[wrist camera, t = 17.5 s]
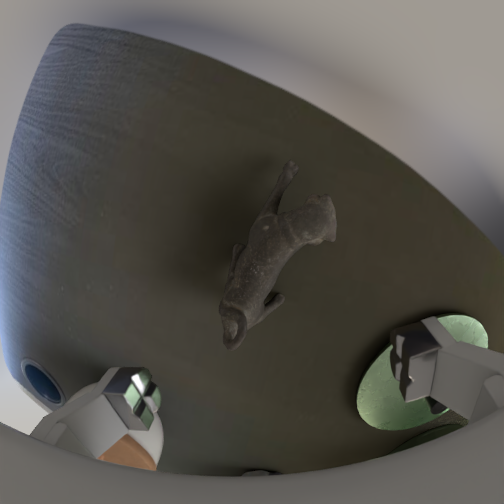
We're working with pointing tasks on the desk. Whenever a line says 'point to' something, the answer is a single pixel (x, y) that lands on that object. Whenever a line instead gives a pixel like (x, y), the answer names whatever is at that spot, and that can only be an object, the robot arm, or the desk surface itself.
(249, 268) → the dog figurine
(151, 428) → the lidded bowl
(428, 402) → the tin lid
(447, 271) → the desk surface
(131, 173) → the desk surface
